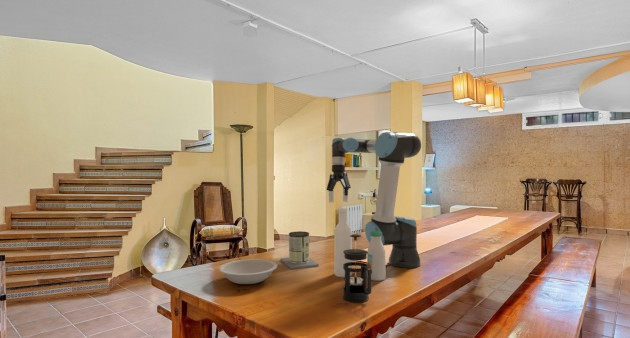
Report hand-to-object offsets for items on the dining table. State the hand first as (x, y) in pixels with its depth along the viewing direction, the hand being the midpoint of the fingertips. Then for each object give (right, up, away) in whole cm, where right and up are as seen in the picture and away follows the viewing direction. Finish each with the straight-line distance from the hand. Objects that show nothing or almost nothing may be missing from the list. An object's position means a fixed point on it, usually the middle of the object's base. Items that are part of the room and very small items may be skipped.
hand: (337, 202), depth 201 cm
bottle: (-1, -29, -44) cm, 52 cm away
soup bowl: (-41, -29, -53) cm, 73 cm away
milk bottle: (+13, -28, -49) cm, 58 cm away
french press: (+2, -28, -73) cm, 78 cm away
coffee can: (-21, -28, -24) cm, 42 cm away
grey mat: (-21, -28, -24) cm, 43 cm away
